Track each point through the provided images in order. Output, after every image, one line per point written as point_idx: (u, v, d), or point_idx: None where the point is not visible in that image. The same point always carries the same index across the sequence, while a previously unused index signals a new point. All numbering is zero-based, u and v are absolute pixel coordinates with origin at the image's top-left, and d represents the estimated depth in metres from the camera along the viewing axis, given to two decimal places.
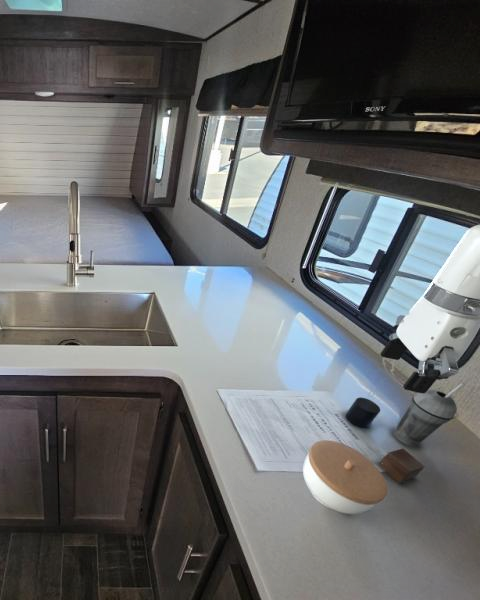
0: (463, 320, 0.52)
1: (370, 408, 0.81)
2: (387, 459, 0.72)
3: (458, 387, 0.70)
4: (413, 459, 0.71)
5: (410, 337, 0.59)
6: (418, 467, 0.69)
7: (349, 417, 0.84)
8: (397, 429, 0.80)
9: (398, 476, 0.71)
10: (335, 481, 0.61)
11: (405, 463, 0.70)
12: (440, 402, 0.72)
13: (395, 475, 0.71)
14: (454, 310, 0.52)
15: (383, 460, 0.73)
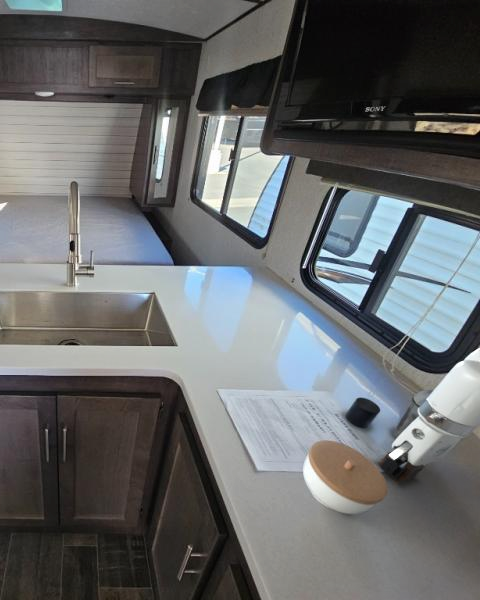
0: (425, 425, 0.63)
1: (370, 408, 0.81)
2: None
3: None
4: None
5: None
6: (418, 467, 0.69)
7: (349, 417, 0.84)
8: (397, 429, 0.80)
9: None
10: (335, 481, 0.61)
11: None
12: None
13: None
14: (423, 416, 0.64)
15: (383, 460, 0.73)
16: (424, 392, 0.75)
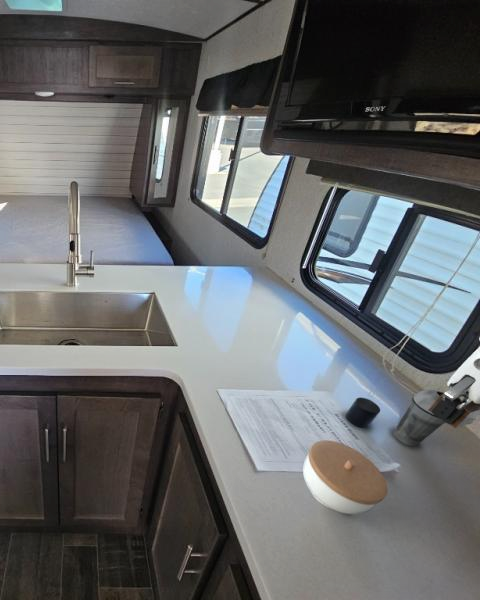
0: None
1: (370, 408, 0.81)
2: None
3: None
4: (471, 401, 0.61)
5: None
6: (478, 408, 0.59)
7: (349, 417, 0.84)
8: (397, 429, 0.80)
9: None
10: (335, 481, 0.61)
11: None
12: None
13: None
14: None
15: (434, 404, 0.64)
16: (424, 392, 0.75)
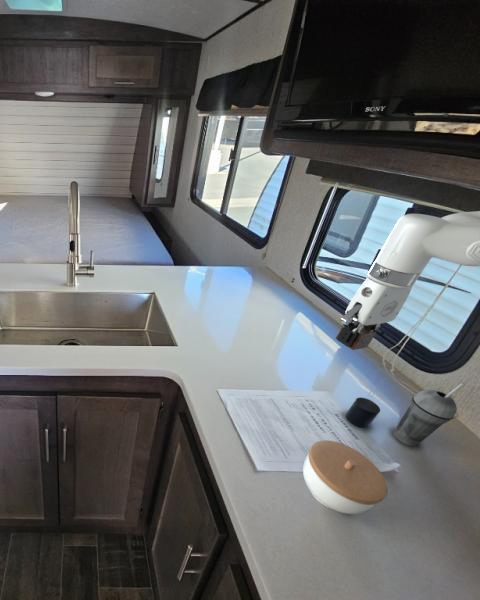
0: (372, 282, 0.68)
1: (370, 408, 0.81)
2: None
3: (458, 387, 0.70)
4: (366, 328, 0.75)
5: None
6: (370, 332, 0.74)
7: (349, 417, 0.84)
8: (397, 429, 0.80)
9: None
10: (335, 481, 0.61)
11: None
12: (440, 402, 0.72)
13: None
14: (371, 275, 0.69)
15: (339, 333, 0.78)
16: (424, 392, 0.75)
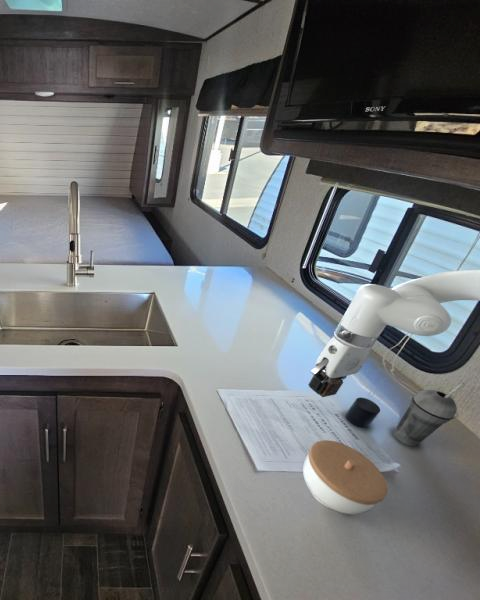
0: (337, 342, 0.76)
1: (370, 408, 0.81)
2: None
3: (458, 387, 0.70)
4: None
5: None
6: (337, 382, 0.82)
7: (349, 417, 0.84)
8: (397, 429, 0.80)
9: None
10: (335, 481, 0.61)
11: (327, 380, 0.83)
12: (440, 402, 0.72)
13: None
14: (337, 334, 0.77)
15: (311, 380, 0.86)
16: (424, 392, 0.75)
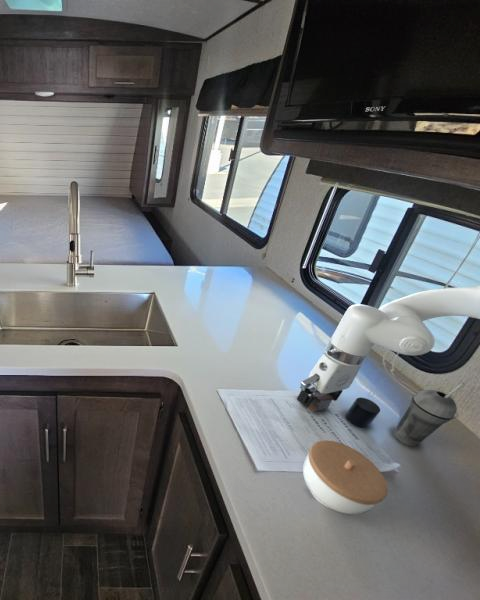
0: (327, 359, 0.79)
1: (370, 408, 0.81)
2: None
3: (458, 387, 0.70)
4: None
5: None
6: (327, 398, 0.85)
7: (349, 417, 0.84)
8: (397, 429, 0.80)
9: (312, 407, 0.87)
10: (335, 481, 0.61)
11: (318, 396, 0.86)
12: (440, 402, 0.72)
13: (311, 407, 0.87)
14: (327, 352, 0.80)
15: None
16: (424, 392, 0.75)
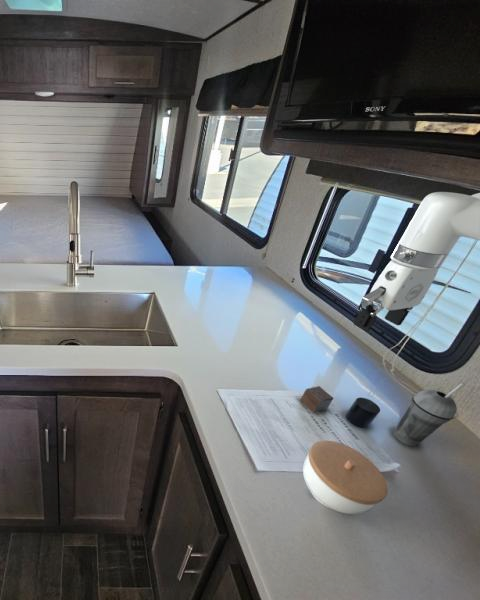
0: (397, 265, 0.65)
1: (370, 408, 0.81)
2: (305, 394, 0.88)
3: (458, 387, 0.70)
4: (325, 393, 0.87)
5: None
6: (327, 398, 0.85)
7: (349, 417, 0.84)
8: (397, 429, 0.80)
9: (312, 407, 0.87)
10: (335, 481, 0.61)
11: (318, 396, 0.86)
12: (440, 402, 0.72)
13: (311, 407, 0.87)
14: (395, 257, 0.66)
15: (303, 396, 0.89)
16: (424, 392, 0.75)
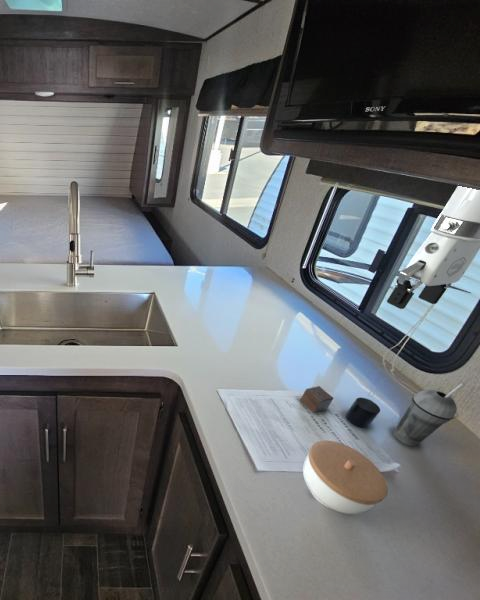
0: (439, 237, 0.61)
1: (370, 408, 0.81)
2: (305, 394, 0.88)
3: (458, 387, 0.70)
4: (325, 393, 0.87)
5: None
6: (327, 398, 0.85)
7: (349, 417, 0.84)
8: (397, 429, 0.80)
9: (312, 407, 0.87)
10: (335, 481, 0.61)
11: (318, 396, 0.86)
12: (440, 402, 0.72)
13: (311, 407, 0.87)
14: (437, 229, 0.62)
15: (303, 396, 0.89)
16: (424, 392, 0.75)
